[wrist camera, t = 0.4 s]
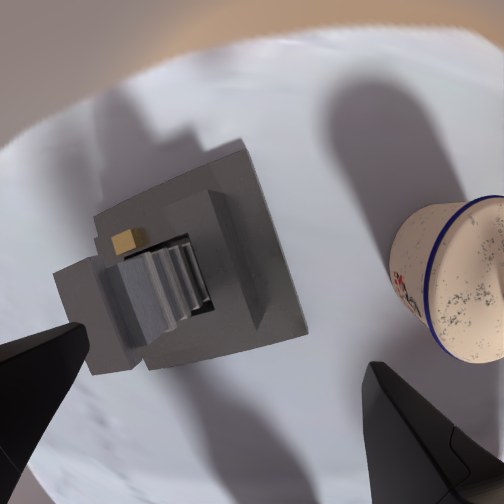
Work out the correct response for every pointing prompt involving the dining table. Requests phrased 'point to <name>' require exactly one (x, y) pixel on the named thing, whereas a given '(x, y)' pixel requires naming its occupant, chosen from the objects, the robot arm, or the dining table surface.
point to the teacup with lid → (455, 275)
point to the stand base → (212, 260)
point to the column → (130, 302)
